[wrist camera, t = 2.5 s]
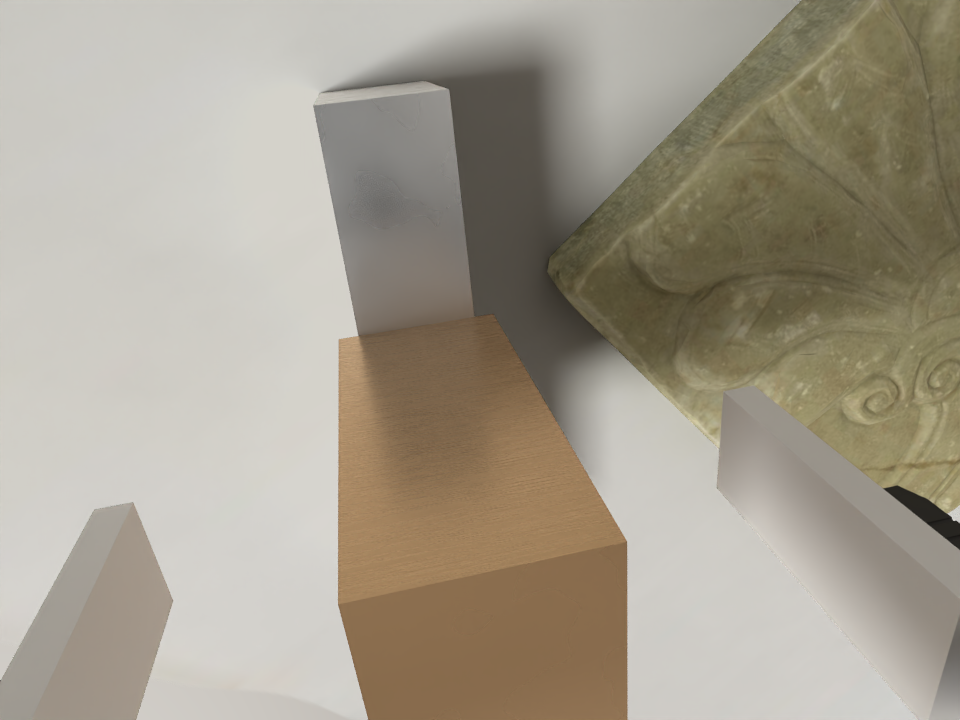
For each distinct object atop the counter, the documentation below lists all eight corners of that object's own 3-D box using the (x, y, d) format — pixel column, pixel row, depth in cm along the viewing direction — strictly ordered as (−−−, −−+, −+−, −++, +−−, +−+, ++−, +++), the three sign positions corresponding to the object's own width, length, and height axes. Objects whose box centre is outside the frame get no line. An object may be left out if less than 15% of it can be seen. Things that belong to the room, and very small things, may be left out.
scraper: (301, 95, 19) (227, 179, 6) (440, 78, 19) (626, 127, 7) (390, 534, 26) (438, 987, 13) (490, 513, 26) (627, 931, 14)
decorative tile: (815, 539, 31) (869, 595, 28) (531, 266, 23) (562, 301, 20) (1165, 249, 28) (1271, 275, 25) (983, -199, 19) (1109, -247, 16)
